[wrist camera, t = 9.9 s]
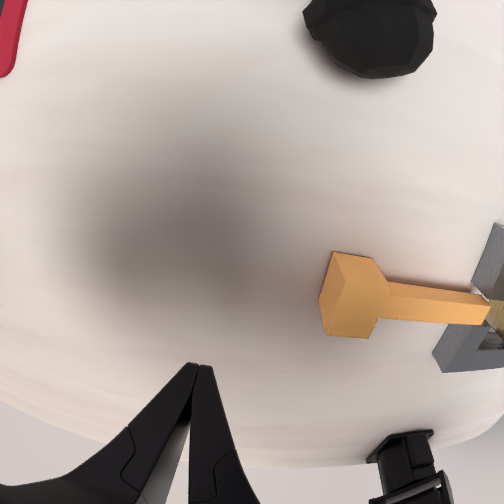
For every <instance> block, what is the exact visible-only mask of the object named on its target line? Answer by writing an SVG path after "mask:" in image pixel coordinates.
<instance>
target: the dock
mask: <svg viewBox="0 0 504 504" xmlns="http://www.w3.org/2000/svg"><path fill="white" fill-rule="evenodd" d="M471 282H472V283H473V284H474V285H475V286H476V287H477V288H478V289H479V290H480V291H481V293H482V294H483V295H484V296H485V297H486V298H487V299H492V300H500V301H504V226H502V225H500V224H497V223H494V226H493V229H492V232H491V235H490V237H489V240H488V243H487V245H486V248H485V250H484V253H483V255H482V258H481V260H480V263H479V265H478V267H477V270H476V272H475V274H474V276H473V278H472V281H471ZM490 328H491V327H490V325H489V324H488V323H487V321H486V320H485V319H484V321H483V323H482V324H481V325H469V324H451V323H450V324H449V326H448V328H447V329H446V331H445V333H444V335H443V336H442V338H441V340H440V341H439V343H438V345H437V346H436V348H435V350H434V351H433V353H432V354H433V356H434V358H435V359H436V361H437V363H438V365H439V367H440V369H441V371H442V373H448V372H463V371H475V370H485V369H494V368H502V367H504V342H503V341H502V339H501V338H500V336H499V335H498V334H497V333H488V331H489V329H490Z"/></svg>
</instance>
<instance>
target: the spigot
mask: <svg viewBox="0 0 504 504" xmlns="http://www.w3.org/2000/svg"><path fill="white" fill-rule="evenodd" d="M489 304H490V305H491V308H490V310H489V312H488V314H487V315H486V318H487V321H488V322H489V323H490V325H491V326H492V327H493V329H494V330H495V331H496V332H497V334H498V335H499V336H500V338H501V339H502V341H503V342H504V301H500V300H492V299H490V301H489Z"/></svg>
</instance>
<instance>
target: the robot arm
mask: <svg viewBox="0 0 504 504" xmlns="http://www.w3.org/2000/svg"><path fill="white" fill-rule="evenodd" d="M189 428H190V446H189V488H188V489H189V491H188V494H189V496H188V504H260V502H259V500H258V499H257V497H256V495H255V493H254V491H253V489H252V488H251V486H250V484H249V482H248V479H247V477H246V475H245V474H244V471H243V468H242V465H241V463H240V460H239V457H238V454H237V451H236V449H235V445H234V442H233V438H232V435H231V432H230V429H229V425H228V422H227V418H226V415H225V411H224V408H223V404H222V401H221V397H220V394H219V390H218V386H217V383H216V379H215V375H214V371H213V368H212V367H211V366H208V365H200V366H199V364H197V363H191V362H187V363H186V364H185V365H184V366H183V367H182V368H181V369H180V370H179V371H178V373H177V374H176V375H175V376H174V377H173V378H172V379H171V380H170V381H169V382H168V383H167V384H166V385H165V386H164V387H163V388H162V390H161V391H160V392H159V393H158V394H157V395H156V396H155V397H154V398H153V399H152V400H151V401H150V402H149V403H148V404H147V405H146V406H145V407H144V408H143V409H142V411H141V412H140V413H139V414H138V415H137V416H136V417H135V418H134V419H133V420H132V421H131V422H130V423H129V424H128V427H127V426H126V427H125V428H124V429H123V430H122V431H121V432H120V433H119V434H118V435H117V436H116V437H115V438H114V439H113V440H112V441H111V442H110V443H108V444H107V445H106V446H105V447H103V448H102V449H101V450H100V451H99V452H97V453H96V454H95V455H93V456H92V457H90V458H89V459H88V460H86V461H85V462H84V463H82V464H81V465H80V466H78V467H77V468H75V469H74V470H73V471H71V472H69V473H68V474H66V475H64V476H61V477H58V478H54V479H49V480H44V481H40V482H34V483H29V484H23V485H17V486H6V485H3V484H0V504H165V503H166V499H167V496H168V493H169V490H170V487H171V484H172V481H173V478H174V475H175V472H176V468H177V465H178V462H179V459H180V456H181V453H182V450H183V447H184V444H185V441H186V438H187V435H188V432H189ZM433 435H434V431H433V430H430V431H423V432H416V433H409V434H400V435H392V436H389V437H388V438H387V439H386V440H385V441H384V442H383V443H382V444H381V445H380V446H379V447H378V448H377V449H376V450H375V451H374V452H373V453H372V454H371V455H370V456H369V457H368V458H367V459H366V463H367V464H370V463H377V464H378V469H379V474H380V479H381V484H382V489H383V496H381V497H378V498H373V499H370V500H369V504H454V501H453V496H452V490H451V487H450V484H449V480H448V477H447V475H446V474H445V472H444V471H443V470H441V471H439V472H438V473H436V471H435V467H434V464H433V463H434V459H433V455H432V452H431V449H430V446H429V443H428V439H430V438H431V437H432V436H433ZM440 484H441V487H439V488H436V486H438V485H440Z"/></svg>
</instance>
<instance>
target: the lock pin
mask: <svg viewBox="0 0 504 504" xmlns="http://www.w3.org/2000/svg"><path fill="white" fill-rule="evenodd" d="M318 303H319V307H320V312H321V316H322V320H323V325H324V329H325V334H326V335H329V336H340V337H351V338H364V339H368V338H369V336H370V334H371V332H372V330H373V328H374V326H375V324H376V322H377V319H378V318H386V319H397V320H409V321H422V322H436V323H451V324H469V325H481V324H482V323H483V321H484V319H485V317H486V315H487V314H488V312H489V310H490V308H491V305H490V304H489V303H488V302H487V301H486V300H485V299H484V297H483V296H482V295H479V294H471V293H464V292H457V291H450V290H443V289H436V288H429V287H422V286H415V285H408V284H401V283H394V282H387V280H386V278H385V277H384V275H383V274H382V272H381V270H380V269H379V267H378V266H377V264H376V263H375V261H374V260H373V259H371V258H366V257H360V256H354V255H348V254H342V253H336V252H333V254H332V258H331V261H330V264H329V268H328V271H327V274H326V278H325V281H324V284H323V287H322V290H321V293H320V297H319V300H318Z"/></svg>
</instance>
